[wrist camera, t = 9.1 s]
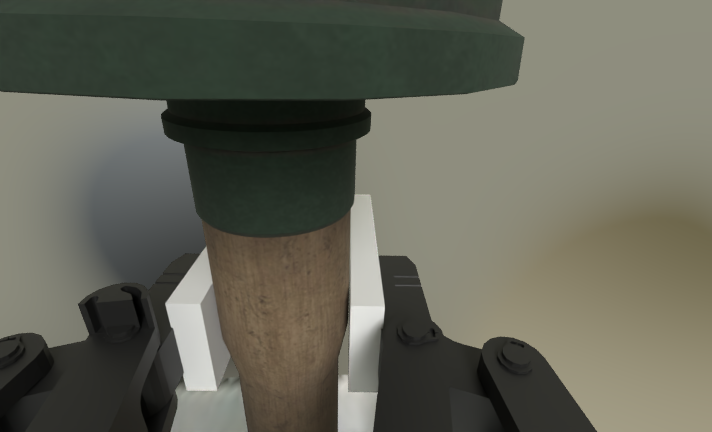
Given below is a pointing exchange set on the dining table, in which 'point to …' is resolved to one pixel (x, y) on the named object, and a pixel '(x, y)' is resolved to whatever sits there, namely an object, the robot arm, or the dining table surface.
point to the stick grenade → (266, 143)
